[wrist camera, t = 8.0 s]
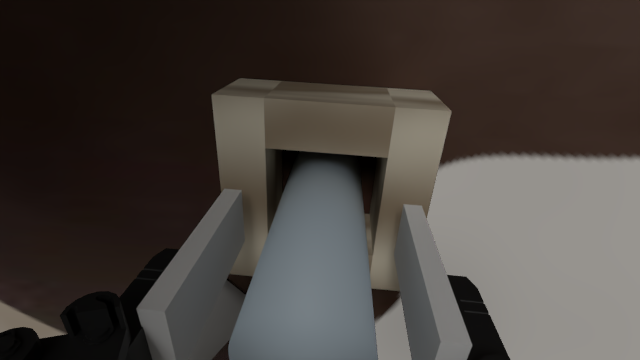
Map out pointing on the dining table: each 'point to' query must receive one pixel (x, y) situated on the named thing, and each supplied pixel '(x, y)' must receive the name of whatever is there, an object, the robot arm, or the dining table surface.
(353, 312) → the peg
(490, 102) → the dining table surface
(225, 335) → the flask
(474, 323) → the robot arm
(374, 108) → the socket block
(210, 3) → the dining table surface
